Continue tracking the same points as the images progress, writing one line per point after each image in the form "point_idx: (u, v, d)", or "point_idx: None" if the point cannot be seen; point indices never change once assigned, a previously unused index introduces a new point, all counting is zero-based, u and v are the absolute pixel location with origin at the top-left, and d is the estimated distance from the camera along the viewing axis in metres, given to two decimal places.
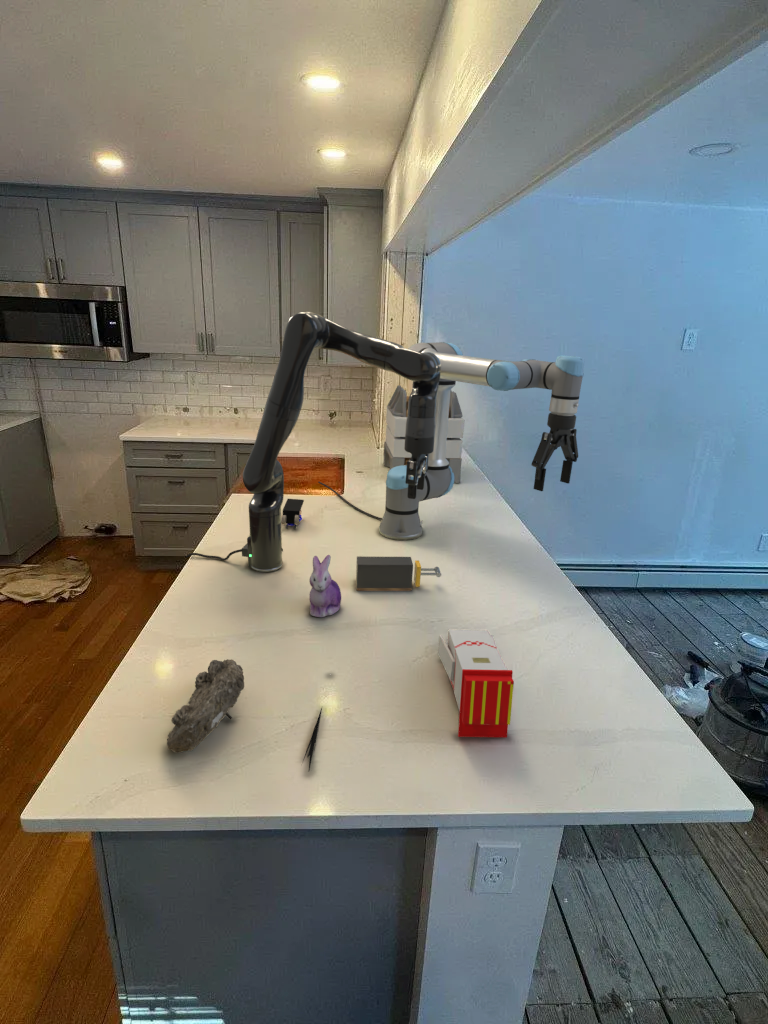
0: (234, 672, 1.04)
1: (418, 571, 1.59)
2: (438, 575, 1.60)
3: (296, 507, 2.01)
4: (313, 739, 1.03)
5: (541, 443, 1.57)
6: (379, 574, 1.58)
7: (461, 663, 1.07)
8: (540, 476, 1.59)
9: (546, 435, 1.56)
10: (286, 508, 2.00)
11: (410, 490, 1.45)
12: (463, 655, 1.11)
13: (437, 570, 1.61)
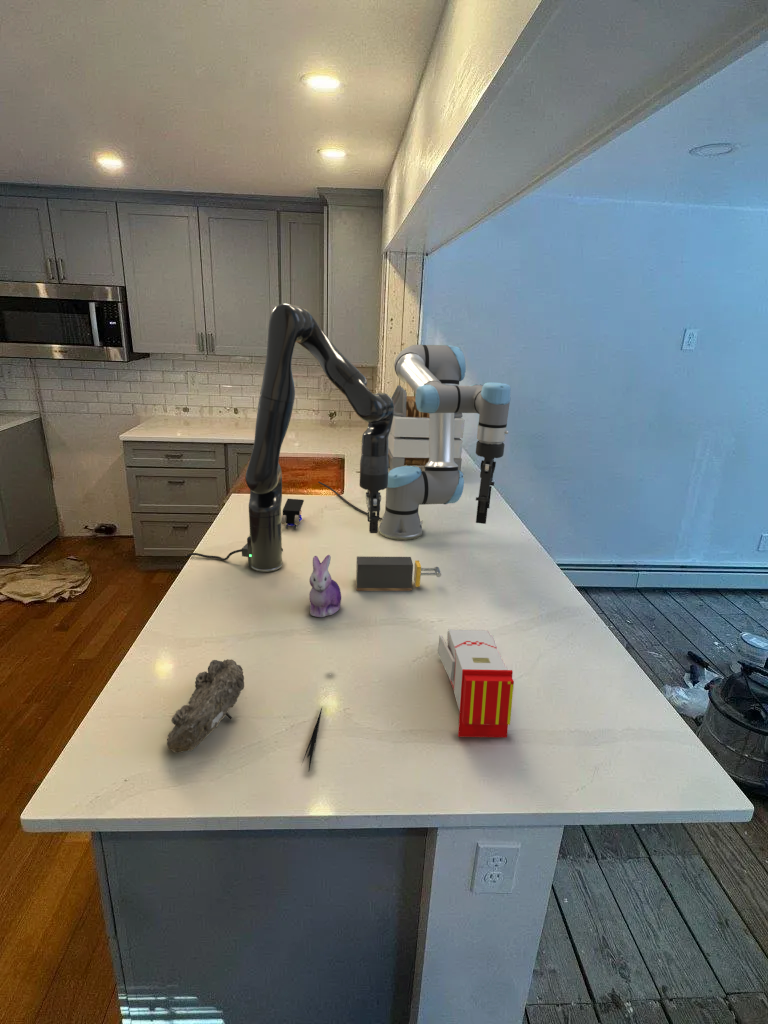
0: (234, 672, 1.04)
1: (418, 571, 1.59)
2: (438, 575, 1.60)
3: (296, 507, 2.01)
4: (313, 739, 1.03)
5: (483, 475, 1.50)
6: (379, 574, 1.58)
7: (461, 663, 1.07)
8: (484, 509, 1.52)
9: (487, 467, 1.49)
10: (286, 508, 2.00)
11: None
12: (463, 655, 1.11)
13: (437, 570, 1.61)
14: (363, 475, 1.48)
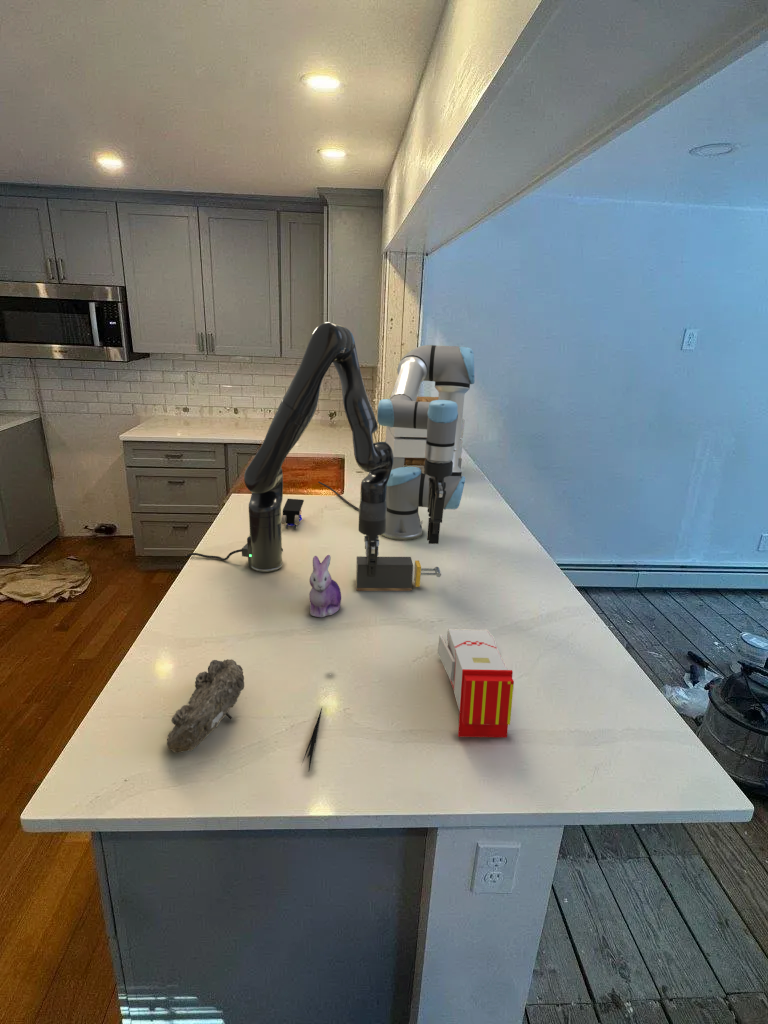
0: (234, 672, 1.04)
1: (418, 571, 1.59)
2: (438, 575, 1.60)
3: (296, 507, 2.01)
4: (313, 739, 1.03)
5: (437, 501, 1.49)
6: (379, 574, 1.58)
7: (461, 663, 1.07)
8: None
9: (441, 494, 1.47)
10: (286, 508, 2.00)
11: None
12: (463, 655, 1.11)
13: (437, 570, 1.61)
14: (362, 521, 1.52)
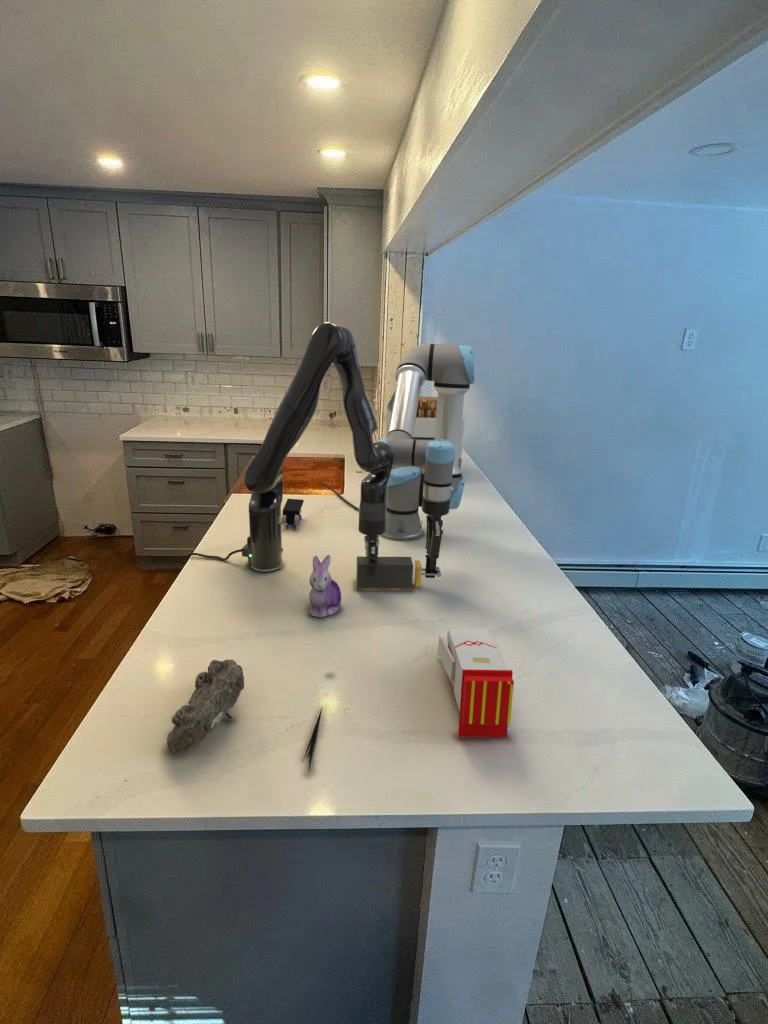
0: (234, 672, 1.04)
1: (418, 571, 1.59)
2: (438, 575, 1.60)
3: (296, 507, 2.01)
4: (313, 739, 1.03)
5: (434, 540, 1.53)
6: (379, 574, 1.58)
7: (461, 663, 1.07)
8: None
9: (438, 534, 1.51)
10: (286, 508, 2.00)
11: None
12: (463, 655, 1.11)
13: (437, 570, 1.61)
14: (362, 521, 1.52)
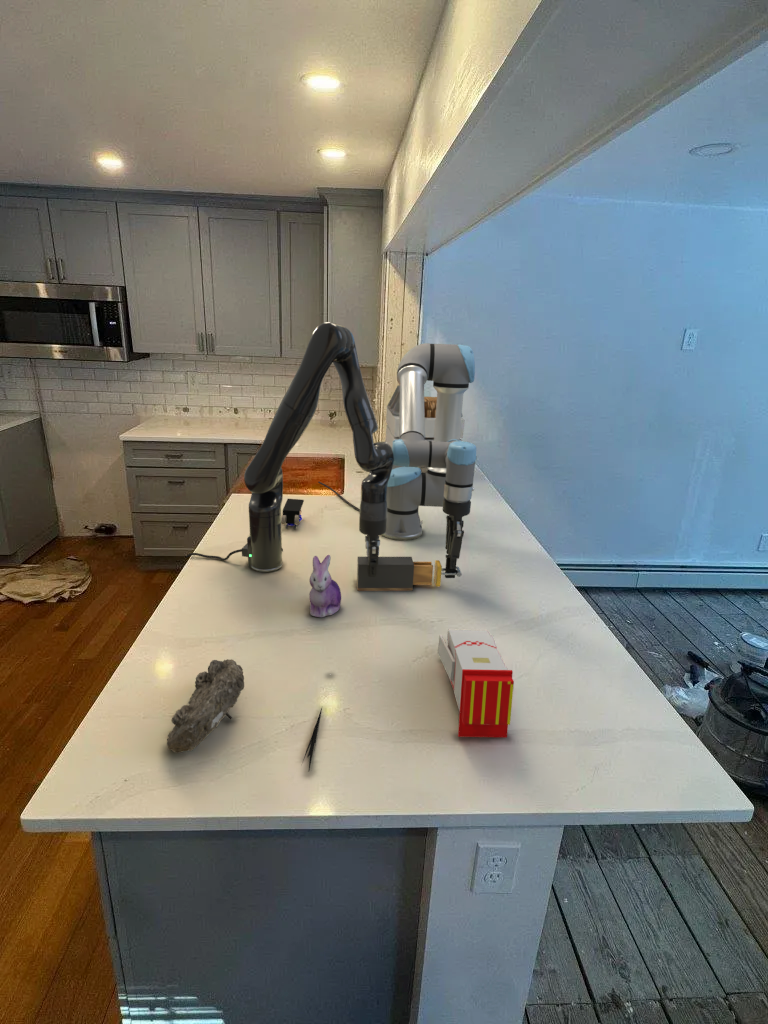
0: (234, 672, 1.04)
1: (439, 571, 1.59)
2: (458, 575, 1.61)
3: (296, 507, 2.01)
4: (313, 739, 1.03)
5: (455, 540, 1.53)
6: (380, 574, 1.58)
7: (461, 663, 1.07)
8: None
9: (459, 534, 1.52)
10: (286, 508, 2.00)
11: None
12: (463, 655, 1.11)
13: (457, 570, 1.62)
14: (362, 521, 1.52)
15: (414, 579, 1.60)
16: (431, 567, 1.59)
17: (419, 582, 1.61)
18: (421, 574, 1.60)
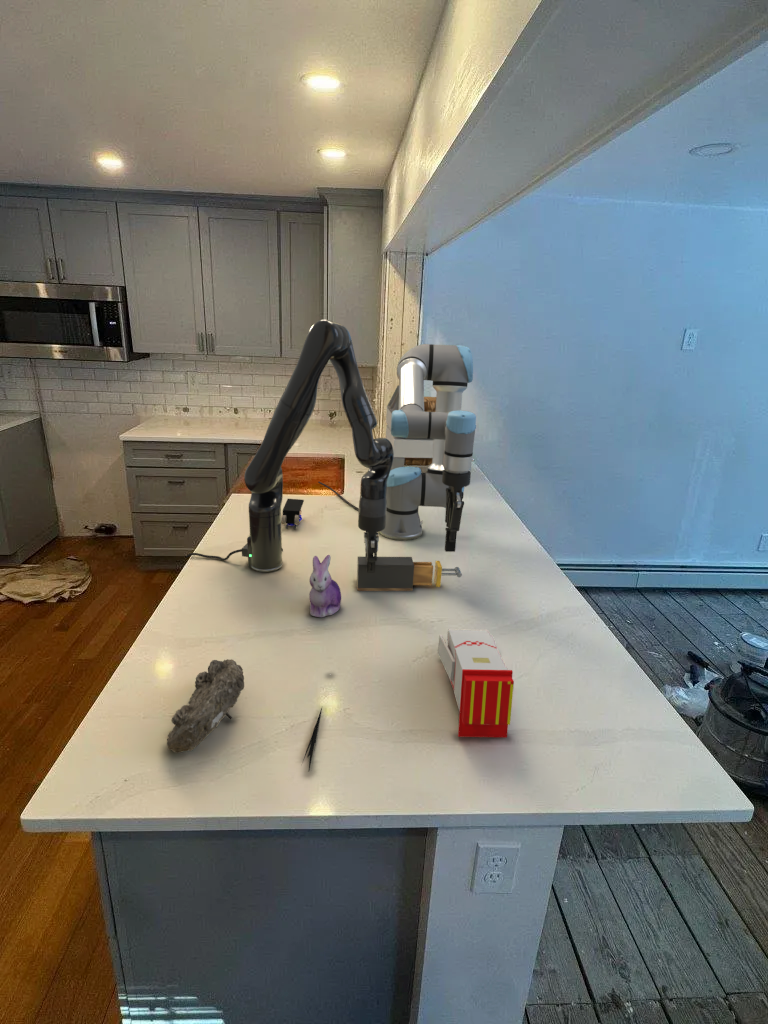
0: (234, 672, 1.04)
1: (439, 571, 1.59)
2: (459, 575, 1.61)
3: (296, 507, 2.01)
4: (313, 739, 1.03)
5: (455, 511, 1.50)
6: (380, 574, 1.58)
7: (461, 663, 1.07)
8: None
9: (459, 505, 1.49)
10: (286, 508, 2.00)
11: None
12: (463, 655, 1.11)
13: (458, 570, 1.62)
14: (361, 517, 1.52)
15: (414, 579, 1.60)
16: (431, 567, 1.59)
17: (419, 582, 1.61)
18: (421, 574, 1.60)
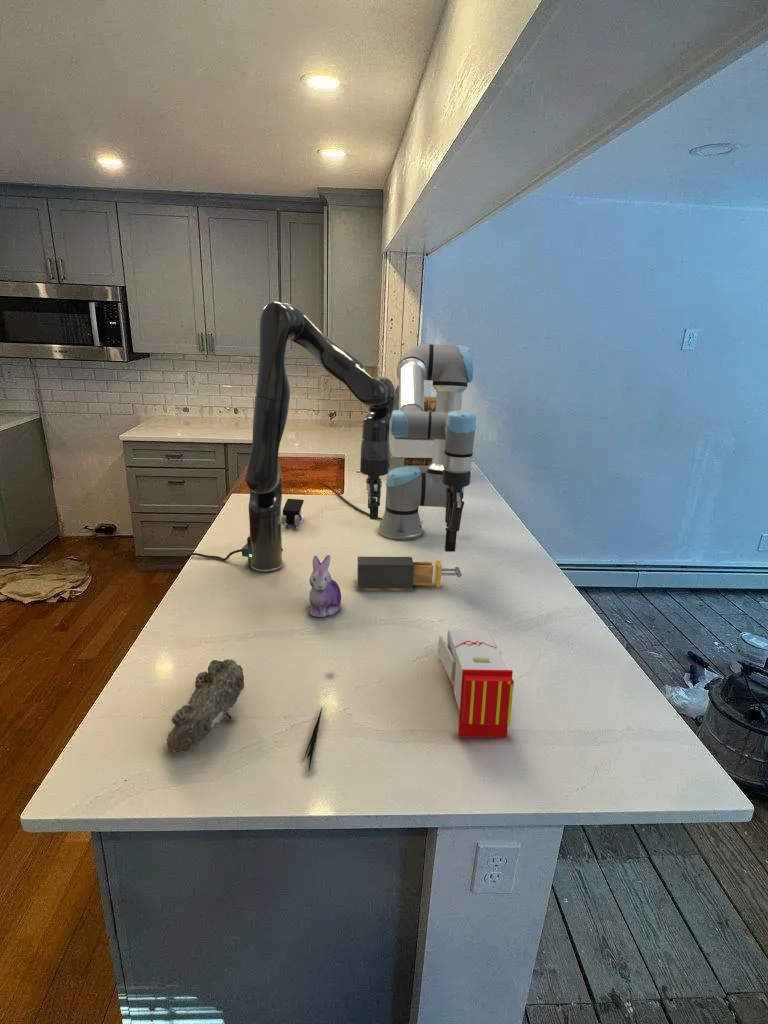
0: (234, 672, 1.04)
1: (439, 571, 1.59)
2: (459, 575, 1.61)
3: (296, 507, 2.01)
4: (313, 739, 1.03)
5: (455, 511, 1.50)
6: (380, 574, 1.58)
7: (461, 663, 1.07)
8: None
9: (459, 505, 1.49)
10: (286, 508, 2.00)
11: None
12: (463, 655, 1.11)
13: (458, 570, 1.62)
14: (364, 460, 1.47)
15: (414, 579, 1.60)
16: (431, 567, 1.59)
17: (419, 582, 1.61)
18: (421, 574, 1.60)
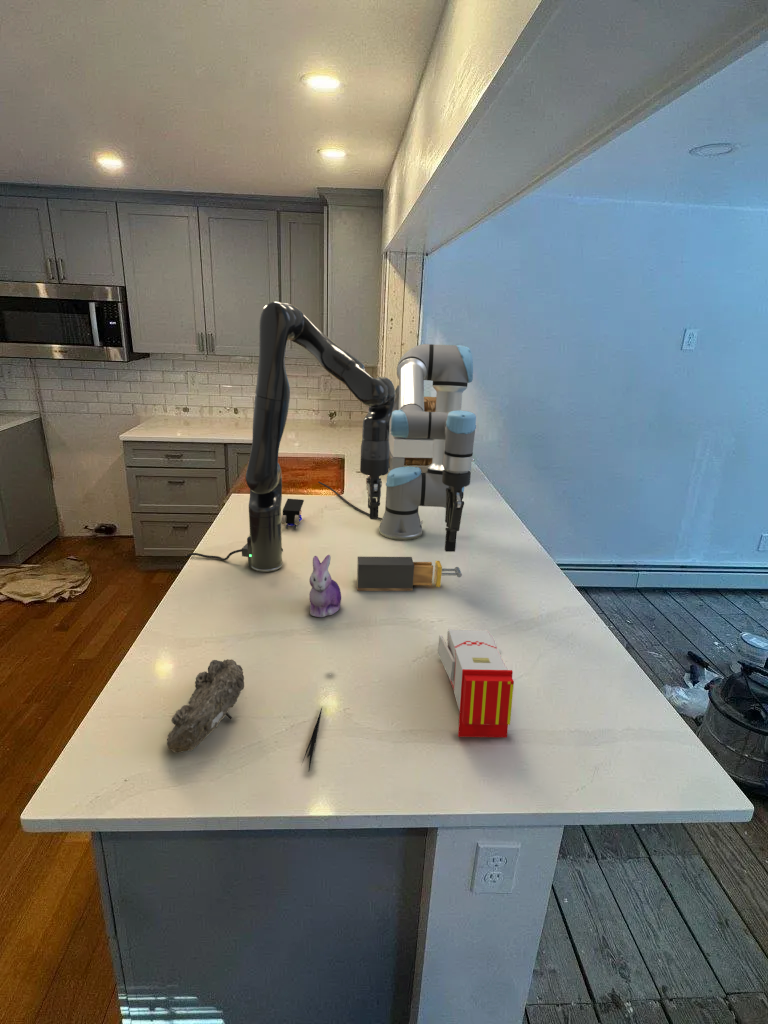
0: (234, 672, 1.04)
1: (439, 571, 1.59)
2: (459, 575, 1.61)
3: (296, 507, 2.01)
4: (313, 739, 1.03)
5: (455, 511, 1.50)
6: (380, 574, 1.58)
7: (461, 663, 1.07)
8: None
9: (459, 505, 1.49)
10: (286, 508, 2.00)
11: None
12: (463, 655, 1.11)
13: (458, 570, 1.62)
14: (364, 460, 1.47)
15: (414, 579, 1.60)
16: (431, 567, 1.59)
17: (419, 582, 1.61)
18: (421, 574, 1.60)
